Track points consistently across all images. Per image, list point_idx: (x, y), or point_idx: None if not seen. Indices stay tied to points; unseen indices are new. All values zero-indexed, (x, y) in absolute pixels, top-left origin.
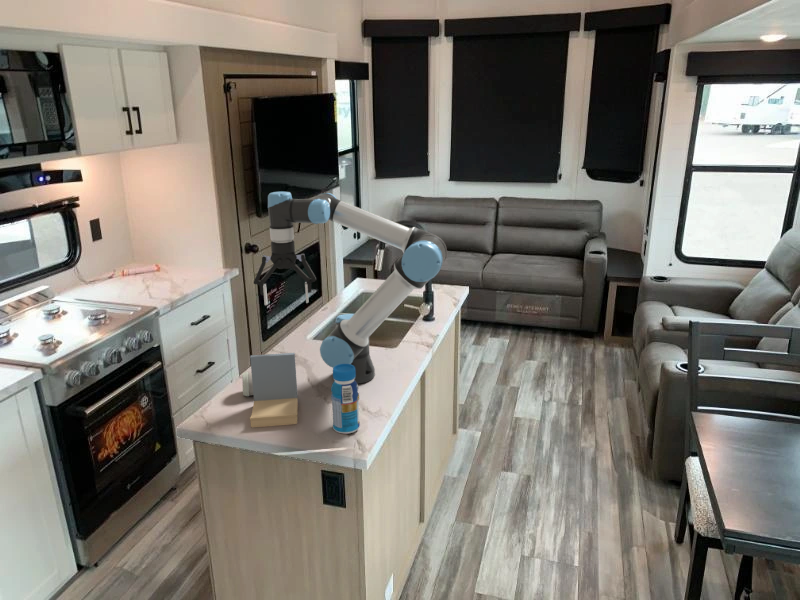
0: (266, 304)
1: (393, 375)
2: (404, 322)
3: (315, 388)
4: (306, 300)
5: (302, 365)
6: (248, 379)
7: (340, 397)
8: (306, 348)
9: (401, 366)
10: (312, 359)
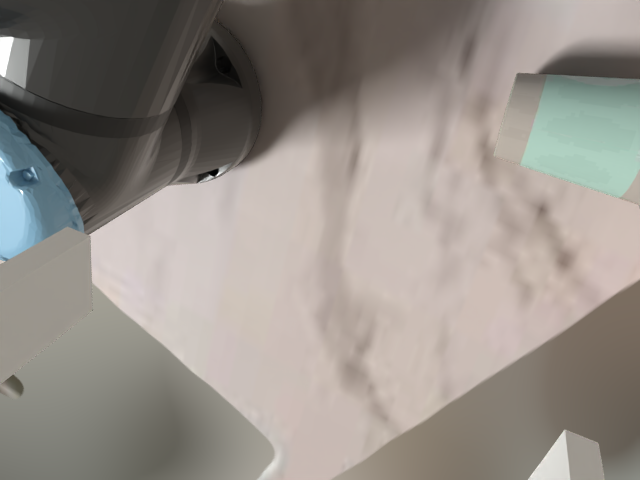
0: (570, 439)
1: None
2: (14, 388)
3: (351, 65)
4: (62, 249)
5: (344, 288)
6: None
7: None
8: (298, 397)
9: None
10: (299, 313)
